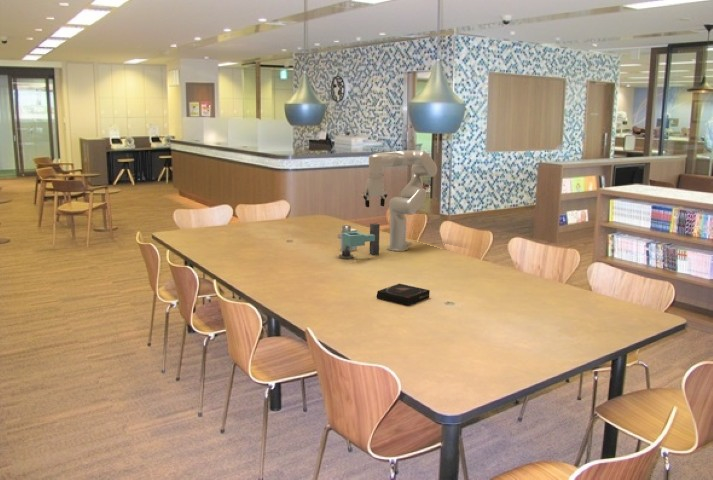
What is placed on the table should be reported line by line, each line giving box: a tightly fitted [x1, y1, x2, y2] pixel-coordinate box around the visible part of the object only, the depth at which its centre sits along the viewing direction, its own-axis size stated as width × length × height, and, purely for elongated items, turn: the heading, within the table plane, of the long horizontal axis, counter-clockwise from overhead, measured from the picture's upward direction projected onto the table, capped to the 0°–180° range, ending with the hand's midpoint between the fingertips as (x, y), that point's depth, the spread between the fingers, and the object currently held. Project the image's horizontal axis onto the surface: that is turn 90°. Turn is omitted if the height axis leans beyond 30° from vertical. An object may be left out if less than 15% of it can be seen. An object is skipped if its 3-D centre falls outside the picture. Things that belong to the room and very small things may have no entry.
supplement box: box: [339, 228, 358, 252], centre depth 372 cm, size 7×7×13 cm
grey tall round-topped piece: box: [337, 224, 354, 260], centre depth 352 cm, size 10×10×18 cm
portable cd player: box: [375, 283, 431, 307], centre depth 276 cm, size 16×17×4 cm
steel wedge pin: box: [369, 222, 381, 256], centre depth 360 cm, size 4×4×18 cm
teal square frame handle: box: [342, 231, 375, 247], centre depth 346 cm, size 17×9×6 cm, turn 118°
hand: (374, 206), depth 357 cm, fingers open, 9 cm apart
